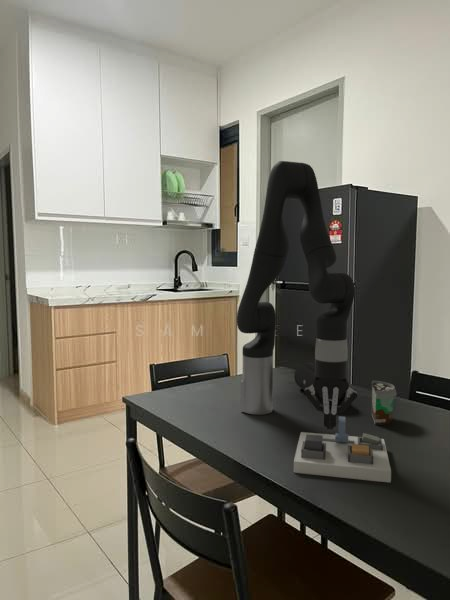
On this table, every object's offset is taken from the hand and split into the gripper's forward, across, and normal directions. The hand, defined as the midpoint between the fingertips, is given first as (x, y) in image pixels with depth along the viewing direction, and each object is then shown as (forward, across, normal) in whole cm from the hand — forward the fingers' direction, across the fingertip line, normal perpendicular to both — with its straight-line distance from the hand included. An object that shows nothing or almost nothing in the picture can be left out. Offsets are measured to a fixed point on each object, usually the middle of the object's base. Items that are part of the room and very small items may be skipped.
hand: (330, 428), depth 113 cm
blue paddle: (+3, +3, 0) cm, 4 cm away
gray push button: (+2, -3, -9) cm, 10 cm away
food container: (+6, +15, +26) cm, 31 cm away
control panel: (+6, +3, -5) cm, 8 cm away
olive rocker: (+2, +9, -1) cm, 9 cm away
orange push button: (+3, +7, -9) cm, 11 cm away
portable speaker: (+6, -5, +45) cm, 45 cm away
